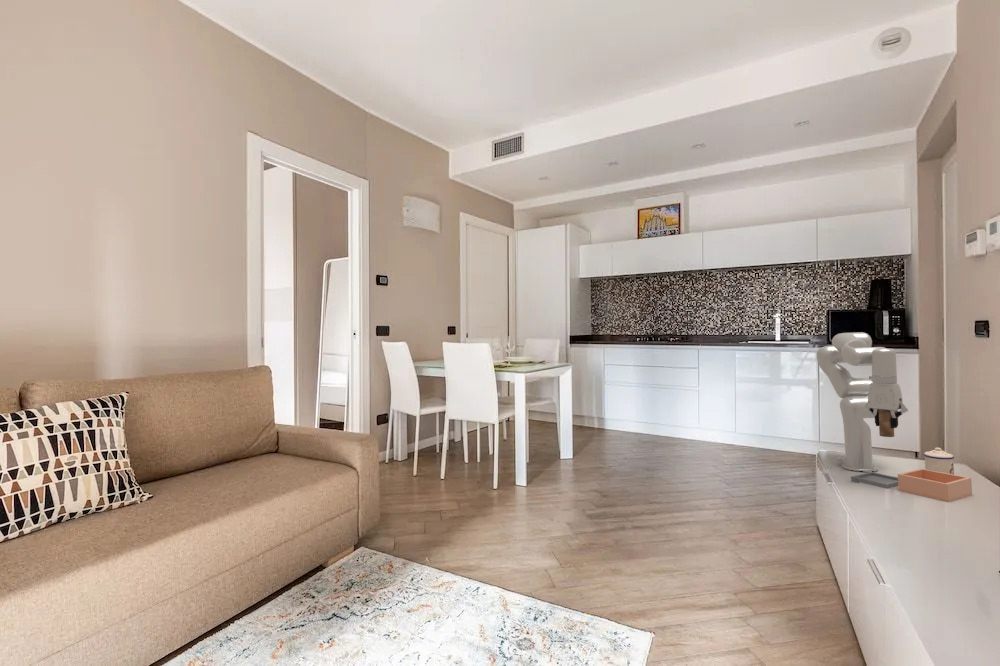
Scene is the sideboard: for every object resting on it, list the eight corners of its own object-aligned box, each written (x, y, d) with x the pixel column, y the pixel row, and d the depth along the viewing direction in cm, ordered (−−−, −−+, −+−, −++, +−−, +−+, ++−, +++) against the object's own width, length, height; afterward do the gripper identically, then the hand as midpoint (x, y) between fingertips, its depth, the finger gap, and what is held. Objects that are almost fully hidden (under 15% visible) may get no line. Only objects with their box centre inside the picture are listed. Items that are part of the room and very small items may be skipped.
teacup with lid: (957, 481, 188) (956, 451, 188) (927, 478, 193) (925, 449, 193) (950, 473, 198) (949, 445, 198) (921, 471, 203) (920, 443, 203)
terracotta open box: (898, 491, 179) (897, 474, 179) (921, 485, 185) (920, 468, 185) (948, 503, 165) (947, 484, 165) (972, 496, 171) (971, 477, 171)
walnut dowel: (877, 435, 189) (875, 407, 188) (883, 433, 190) (882, 406, 190) (890, 437, 184) (889, 409, 184) (896, 436, 186) (895, 407, 186)
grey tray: (851, 481, 193) (851, 476, 193) (871, 476, 198) (871, 471, 198) (887, 489, 181) (887, 484, 181) (908, 484, 186) (907, 479, 186)
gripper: (855, 379, 193) (857, 424, 194) (904, 382, 178) (906, 431, 178) (866, 377, 197) (868, 422, 197) (915, 381, 181) (917, 429, 181)
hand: (886, 426), depth 187 cm, fingers closed on walnut dowel, 4 cm apart
